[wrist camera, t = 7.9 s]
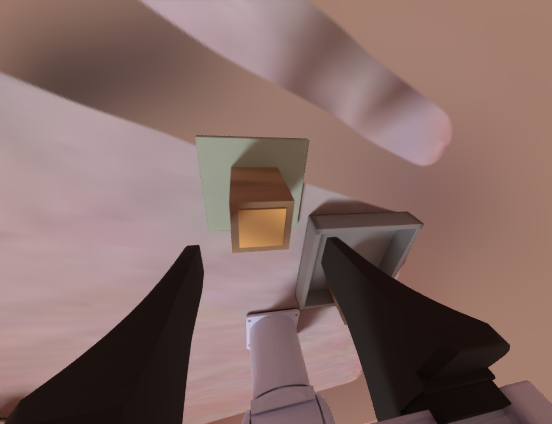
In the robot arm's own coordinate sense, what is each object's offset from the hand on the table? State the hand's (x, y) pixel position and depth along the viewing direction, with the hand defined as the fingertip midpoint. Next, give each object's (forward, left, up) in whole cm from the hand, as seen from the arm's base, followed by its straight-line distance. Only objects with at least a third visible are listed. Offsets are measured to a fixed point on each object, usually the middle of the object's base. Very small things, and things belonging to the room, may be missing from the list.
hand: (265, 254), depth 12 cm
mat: (0, 0, -9) cm, 9 cm away
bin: (-10, -12, -9) cm, 18 cm away
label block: (0, 0, -8) cm, 8 cm away
